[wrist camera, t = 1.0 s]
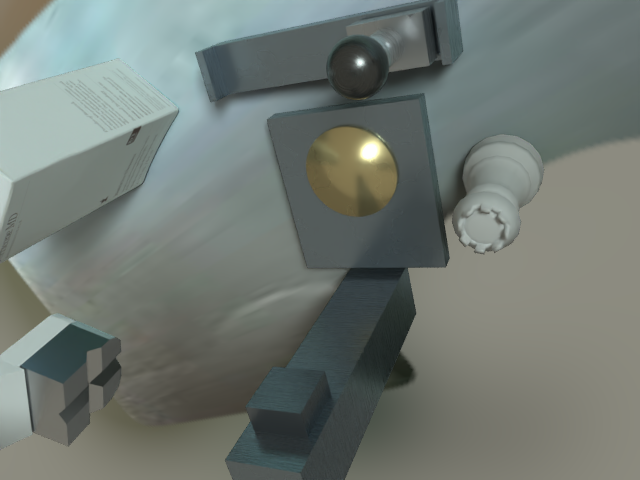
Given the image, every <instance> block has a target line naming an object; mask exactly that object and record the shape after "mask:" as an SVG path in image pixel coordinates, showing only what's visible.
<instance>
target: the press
mask: <svg viewBox="0 0 640 480" xmlns="http://www.w3.org/2000/svg"><path fill="white" fill-rule="evenodd" d="M428 6H430V10H431V17H432V24H433V31H434V38H435V45H436V52H437V59H436V60H435V61H437V60H442V65H448V64H452V63H453V62H454V61H455V60H456V59H457V58H458V56H459V55H460V54H461V53H462V52H463V46H462V38H461V30H460V22H459V14H458V6H457V0H420V1H415V2H411V3H406V4H401V5H396V6H392V7H387V8H382V9H377V10H373V11H368V12H363V13H358V14H354V15H349V16H344V17H339V18H335V19H330V20H325V21H320V22H316V23H311V24H306V25H301V26H297V27H292V28H287V29H282V30H278V31H273V32H268V33H263V34H259V35H254V36H249V37H244V38H240V39H235V40H230V41H225V42H221V43H218V44H216V45H213V46H211V47H208V48H206V49H203V50H201V51H198V52H195V54H196V57H197V61H198V64H199V67H200V70H201V73H202V77H203V80H204V83H205V86H206V89H207V93H208V96H209V99H210V102H213V101H218V100H219V99H221V98H223V97H225V96H227V95H229V94H233V93H239V92H246V91H252V90H258V89H264V88H270V87H277V86H283V85H289V84H295V83H301V82H307V81H314V80H320V79H326V78H328V77H327V72H326V63H327V58H328V55H329V53H330V51H331V50H332V48H333V47H334V45H335V44H336V43H338V42H339V41H340V40H341V39H343V38H345V37H347V36H348V35H347V31H346V27H347V26H349V25H351V24H352V23H354V22H356V21H359V20H364V19H369V18H374V17H379V16H384V15H389V14H394V13H398V12H403V11H408V10H413V9H418V8H423V7H428ZM267 122H268V126H269V130H270V133H271V137H272V141H273V144H274V148H275V151H276V155H277V159H278V162H279V166H280V170H281V173H282V177H283V181H284V184H285V188H286V191H287V195H288V199H289V202H290V206H291V210H292V213H293V217H294V221H295V224H296V228H297V232H298V235H299V239H300V242H301V246H302V250H303V253H304V257H305V261H306V264H307V268H351V269H350V271H349V272H348V274H347V275H346V277H345V278H344V280H343V281H342V283H341V284H340V286H339V287H338V289H337V290H336V292H335V293H334V295H333V296H332V298H331V299H330V301H329V303H328V304H327V306H326V307H325V309H324V310H323V312H322V313H321V315H320V316H319V318H318V319H317V321H316V322H315V324H314V325H313V327H312V328H311V330H310V331H309V333H308V334H307V336H306V337H305V339H304V341H303V342H302V344H301V345H300V347H299V348H298V350H297V351H296V353H295V354H294V356H293V357H292V359H291V360H290V362H289V363H288V365H287V366H286V368H283V367H272V369H271V370H270V372H269V373H268V375H267V376H266V378H265V379H264V381H263V382H262V383H261V385H260V386H259V388H258V389H257V391H256V392H255V394H254V395H253V397H252V398H251V399H250V401H249V402H248V404H247V405H246V410H247V413H248V415H249V418H250V423H249V424H248V426H247V427H246V429H245V430H244V432H243V433H242V435H241V437H240V438H239V439H238V441H237V443H236V444H235V446H234V447H233V449H232V450H231V452H230V453H229V455H228V456H227V458H226V459H225V462H226V464H227V467H228V469H229V471H230V474H231V476H232V479H233V480H345V477H346V475H347V472H348V470H349V468H350V466H351V463H352V461H353V459H354V457H355V454H356V452H357V449H358V447H359V445H360V443H361V440H362V438H363V436H364V433H365V431H366V429H367V426H368V424H369V422H370V419H371V417H372V415H373V413H374V410H375V408H376V406H377V403H378V401H379V399H380V396H381V394H382V392H383V389H384V387H385V385H386V382H387V380H388V378H389V375H390V373H391V371H392V368H393V366H394V364H395V362H396V359H397V357H398V355H399V352H400V350H401V348H402V345H403V343H404V340H405V338H406V336H407V334H408V331H409V329H410V327H411V324H412V322H413V320H414V317H415V315H416V309H415V304H414V299H413V294H412V288H411V283H410V278H409V273H408V268H415V267H419V268H420V267H446V266H447V263H448V261H449V251H448V245H447V238H446V231H445V225H444V218H443V212H442V206H441V199H440V193H439V186H438V180H437V173H436V167H435V161H434V154H433V148H432V141H431V135H430V128H429V122H428V116H427V109H426V103H425V96H424V93H423V94H415V95H408V96H401V97H394V98H386V99H379V100H372V101H365V102H357V103H350V104H343V105H336V106H328V107H321V108H314V109H307V110H299V111H292V112H285V113H278V114H274V115H273V116H271V117H270V118H268V119H267Z"/></svg>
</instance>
